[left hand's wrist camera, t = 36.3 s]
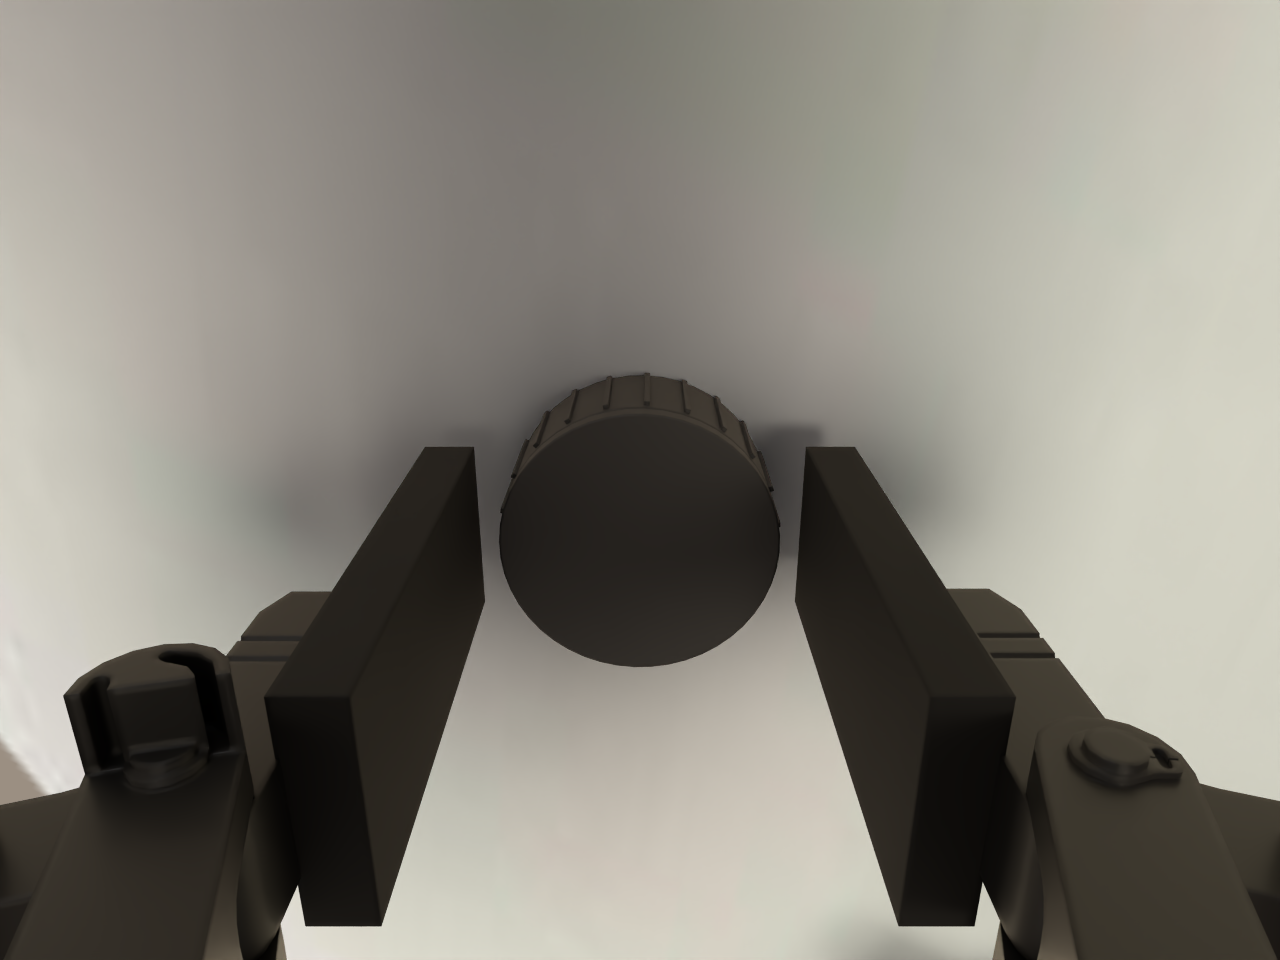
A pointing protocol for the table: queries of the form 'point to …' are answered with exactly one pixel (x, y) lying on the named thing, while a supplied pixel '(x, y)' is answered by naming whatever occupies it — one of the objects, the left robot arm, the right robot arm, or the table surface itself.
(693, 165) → the table surface
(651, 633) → the cap
